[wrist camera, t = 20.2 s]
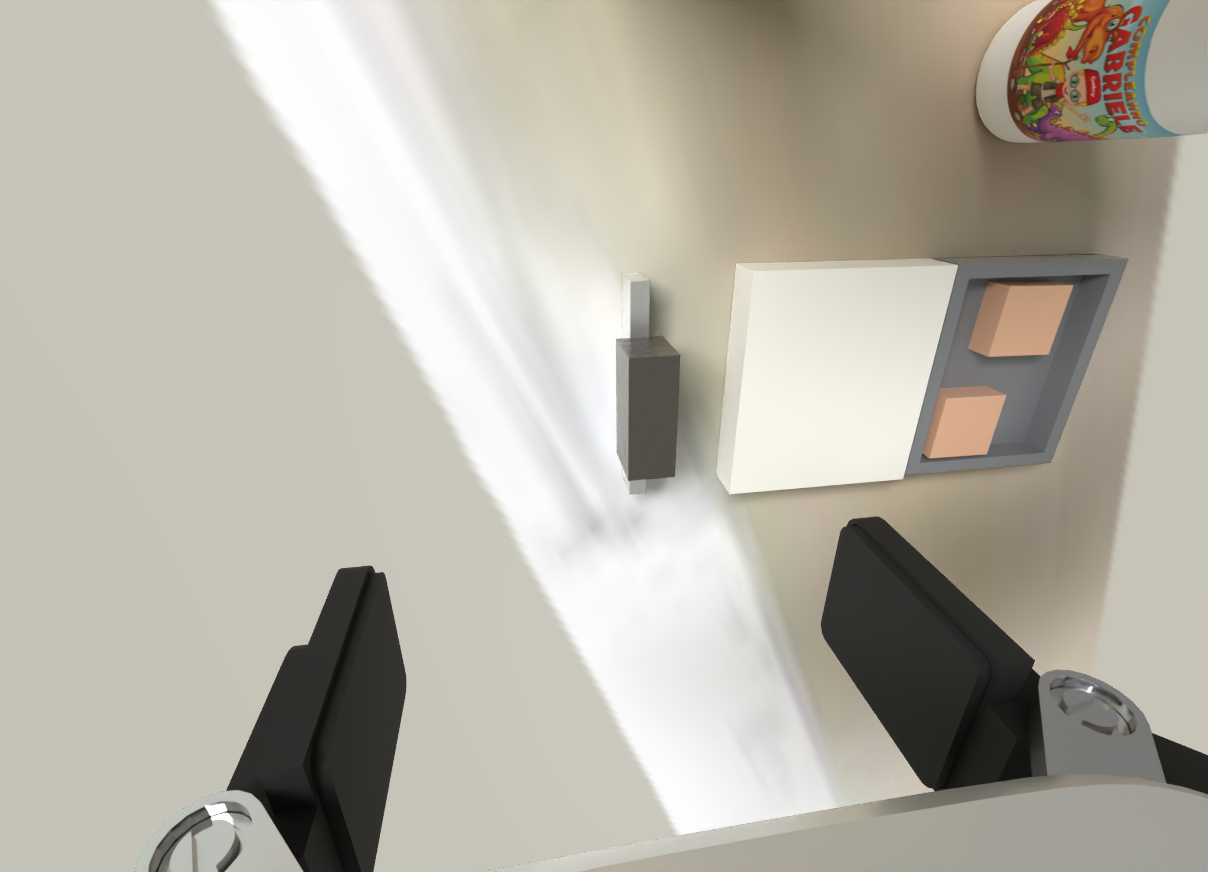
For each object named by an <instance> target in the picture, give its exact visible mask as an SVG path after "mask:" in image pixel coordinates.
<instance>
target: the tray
mask: <svg viewBox="0 0 1208 872" xmlns="http://www.w3.org/2000/svg"><path fill="white" fill-rule="evenodd" d="M934 260H938V261H942V262H947V263H951V264H956V265H958V268H957V272H956V276H955V280H954V284H953V288H952V292H951V295H950V299H949V303H948V307H947V311H946V315H945V319H944V323H943V326H942V330H941V334H940V338H939V342H938V346H937V350H936V354H935V357H934V361H933V365H932V369H931V373H930V377H929V381H928V385H927V388H926V392H925V396H924V400H923V404H922V408H921V412H920V415H919V419H918V423H917V427H916V431H915V435H914V439H913V443H912V446H911V450H910V454H909V458H908V462H907V466H906V470H905V474H904V475H916V474H927V473H939V472H950V471H962V470H974V469H985V468H997V467H1008V466H1020V465H1032V464H1043V463H1051V461H1052V458H1053V456H1054V453H1055V450H1056V448H1057V445H1058V443H1059V440H1060V437H1061V435H1062V432H1063V429H1064V427H1065V424H1066V422H1067V419H1068V416H1069V414H1070V411H1071V408H1072V406H1073V403H1074V401H1075V398H1076V395H1077V393H1078V390H1079V387H1080V385H1081V382H1082V380H1083V377H1084V374H1085V372H1086V369H1087V366H1088V364H1089V361H1090V359H1091V356H1092V353H1093V351H1094V348H1095V345H1096V343H1097V340H1098V338H1099V335H1100V332H1101V330H1102V327H1103V324H1104V322H1105V319H1106V317H1107V314H1108V311H1109V309H1110V306H1111V303H1112V301H1113V298H1114V296H1115V293H1116V290H1117V288H1118V285H1119V282H1120V280H1121V277H1122V275H1123V272H1124V269H1125V267H1126V264H1127V261H1128V259H1126V258H1119V257H1113V256H1106V255H1100V254H1069V255H1032V256H995V257H958V258H934ZM1014 280H1052V281H1056V282H1061V283H1066V284H1070V285H1073V288H1072V291H1071V294H1070V297H1069V299H1068V302H1067V305H1066V308H1065V310H1064V313H1063V316H1062V319H1061V321H1060V324H1059V327H1058V330H1057V333H1056V335H1055V338H1054V341H1053V344H1052V346H1051V349H1050V352H1049V355H1023V356H996V357H987V356H985V355H982V354H980V353H977V352H975V351H972V350H970V349H968V347H969V343H970V340H971V337H972V333H973V330H974V327H975V323H976V320H977V317H978V313H979V310H980V306H981V303H982V300H983V296H984V293H985V290H986V286H987V283H988V281H1014ZM973 386H988V387H990V388H992V389H994V390H997V391H999V392H1001V393H1003V394H1005V395H1006V398H1005V401H1004V404H1003V407H1002V410H1001V413H1000V416H999V419H998V422H997V425H996V428H995V431H994V434H993V437H992V440H991V443H990V446H989V449H988V452H987V454H985V455H971V456H957V457H943V458H928V457H926V456H925V455H924V454H922V452H923V449H924V445H925V441H926V437H927V434H928V430H929V426H930V423H931V419H932V415H933V411H934V408H935V404H936V400H937V397H938V393H939V389H940V388H954V387H973Z"/></svg>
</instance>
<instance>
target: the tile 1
mask: <svg viewBox="0 0 1208 872" xmlns="http://www.w3.org/2000/svg"><path fill="white" fill-rule="evenodd" d="M1005 398H1006V395H1005V394H1003V393H1001V392H999V391H997V390H994V389H992V388H990V387H988V386H973V387H954V388H940V389H939V393H938V397H937V400H936V404H935V408H934V411H933V415H932V419H931V423H930V426H929V430H928V434H927V437H926V441H925V445H924V449H923V452H922V454H924V455H925V456H926V457H928V458H943V457H957V456H971V455H985V454H987V452H988V449H989V446H990V443H991V440H992V437H993V434H994V431H995V428H996V425H997V422H998V419H999V416H1000V413H1001V410H1002V407H1003V404H1004V401H1005Z"/></svg>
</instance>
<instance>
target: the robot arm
mask: <svg viewBox="0 0 1208 872" xmlns="http://www.w3.org/2000/svg"><path fill="white" fill-rule="evenodd" d="M821 629H822V634H823V636H824V638H825V640H826V642H827V643H828V645H829V646H830V648H831V649H832V651H833V652H834V654H835V655H836V657H837V658H838V660H839V661H840V663H841V664H842V666H843V667H844V668H845V670H846V671H847V673H848V674H849V676H850V677H851V679H852V680H853V682H854V683H855V685H856V686H857V688H858V689H859V691H860V692H861V694H862V695H863V697H864V698H865V699H866V701H867V702H868V704H869V705H870V707H871V708H872V710H873V711H874V713H875V714H876V716H877V717H878V719H879V720H880V722H881V723H882V725H883V726H884V727H885V729H886V730H887V732H888V733H889V735H890V736H891V738H892V739H893V741H894V742H895V744H896V745H897V747H898V748H899V750H900V751H901V753H902V754H903V756H904V757H905V758H906V760H907V761H908V763H909V764H910V766H911V767H912V769H913V770H914V772H915V773H916V775H917V776H918V778H919V779H920V780H921V782H922V783H923V784H924V785H925V786H927V787H928V788H933V789H934V791H935V792H929V793H923V794H917V795H911V796H905V797H899V798H893V799H887V800H882V801H876V802H870V803H864V804H858V805H852V806H846V807H840V808H834V809H828V810H822V811H816V812H811V813H805V814H799V815H793V816H788V817H782V818H776V819H770V820H764V821H759V822H753V823H747V824H741V825H736V826H730V827H724V828H719V829H713V830H707V831H702V832H696V833H690V834H684V835H679V836H673V837H668V838H662V839H656V840H651V841H645V842H640V843H634V844H628V845H623V846H618V847H612V848H606V849H601V850H595V851H590V852H584V853H579V854H573V855H568V856H562V857H557V858H551V859H546V860H540V861H534V862H529V863H523V864H518V865H513V866H508V867H503V868H498V869H493V870H488V871H483V872H1208V755H1206V754H1203V753H1201V752H1198V751H1196V750H1193V749H1191V748H1188V747H1186V746H1183V745H1181V744H1178V743H1175V742H1173V741H1171V740H1168V739H1166V738H1163V737H1161V736H1158V735H1156V734H1153V733H1152V732H1151V729H1150V726H1149V724H1148V721H1147V720H1146V718H1145V716H1144V714H1143V713H1142V711H1141V710H1140V709H1139V708H1138V707H1137V706H1136V705H1135V704H1134V703H1133V702H1132V701H1131V700H1130V699H1129V698H1127V697H1126V696H1125V695H1124V694H1122V693H1121V692H1120V691H1118V690H1117V689H1115V688H1113V687H1112V686H1110V685H1108V684H1106V683H1105V682H1103V681H1101V680H1098V679H1096V678H1093V677H1091V676H1089V675H1086V674H1082V673H1078V672H1074V671H1070V670H1053V671H1049V672H1046V673H1045V674H1044V675H1042V676H1041V677H1040V676H1039V675H1038V674H1037V673H1036V672H1035V671H1034V670H1033V669H1032V667H1033V664H1034V662H1035V660H1034V659H1033V658H1032V657H1030V656H1029V655H1028V654H1027V653H1026V652H1025V651H1024V650H1023V649H1022V648H1021V647H1020V646H1019V645H1018V644H1017V643H1015V642H1014V641H1013V640H1012V639H1011V638H1010V637H1009V636H1008V635H1007V634H1006V633H1005V632H1004V631H1003V630H1002V629H1000V628H999V627H998V626H997V625H996V624H995V623H994V622H993V621H992V620H991V619H990V618H989V617H988V616H987V615H985V614H984V613H983V612H982V611H981V610H980V609H979V608H978V607H977V606H976V605H975V604H974V603H973V602H972V601H970V600H969V599H968V598H967V597H966V596H965V595H964V594H963V593H962V592H961V591H960V590H959V589H958V588H957V587H955V586H954V585H953V584H952V583H951V582H950V581H949V580H948V579H947V578H946V577H945V576H944V575H943V574H942V573H940V572H939V571H938V570H937V569H936V568H935V567H934V566H933V565H932V564H931V563H930V562H929V561H928V560H927V559H925V558H924V557H923V556H922V555H921V554H920V553H919V552H918V551H917V550H916V549H915V548H914V547H913V546H912V545H910V544H909V543H908V542H907V541H906V540H905V539H904V538H903V537H902V536H901V535H900V534H899V533H898V532H896V531H895V530H894V529H893V528H892V527H891V526H890V525H889V524H888V523H887V522H886V521H885V520H883V519H882V518H880V517H867V518H857V519H852V520H850V521H849V522H848V524H847V526H846V527H843V528H842V530H841V532H840V536H839V541H838V546H837V550H836V555H835V560H834V564H833V569H832V574H831V578H830V583H829V588H828V592H827V597H826V602H825V606H824V611H823V616H822V620H821ZM405 694H406V673H405V668H404V664H403V658H402V653H401V649H400V644H399V639H398V634H397V629H396V625H395V620H394V615H393V611H392V605H391V601H390V596H389V591H388V586H387V581H386V577H385V574H384V573H383V572H380V573H375V571H374V569H373V567H372V566H362V567H351V568H341V569H339V570H338V572H337V574H336V577H335V579H334V582H333V584H332V586H331V589H330V591H329V594H328V596H327V599H326V602H325V604H324V606H323V609H322V611H321V614H320V616H319V619H318V621H317V624H316V626H315V629H314V631H313V634H312V636H311V638H310V641H309V644H308V645H301V646H293V647H292V648H291V649H290V650H289V651H288V653H287V655H286V657H285V658H284V661H283V663H282V665H281V667H280V670H279V672H278V674H277V677H276V679H275V681H274V684H273V686H272V688H271V690H270V692H269V695H268V697H267V699H266V702H265V704H264V706H263V708H262V711H261V713H260V715H259V717H258V720H257V722H256V724H255V727H254V729H253V731H252V734H251V736H250V738H249V740H248V742H247V745H246V747H245V749H244V752H243V754H242V756H241V758H240V761H239V763H238V765H237V768H236V770H235V772H234V774H233V777H232V779H231V781H230V784H229V786H228V788H227V790H226V791H221V792H218V793H216V794H212V795H209V796H206V797H203V798H201V799H199V800H198V801H196V802H194V803H192V804H190V805H188V806H187V807H185V808H183V809H182V810H181V811H179V812H178V813H177V814H176V815H174V816H173V817H172V818H171V819H169V820H168V821H167V822H166V823H165V824H164V825H163V826H162V827H161V828H160V829H159V830H158V831H157V832H156V834H155V835H154V836H153V837H152V838H151V839H150V840H149V842H148V844H147V845H146V847H145V849H144V850H143V852H142V853H141V855H140V857H139V858H138V861H137V865H136V868H135V871H134V872H373V870H374V865H375V859H376V854H377V848H378V843H379V838H380V832H381V827H382V821H383V816H384V810H385V805H386V799H387V794H388V788H389V782H390V777H391V771H392V766H393V760H394V755H395V750H396V744H397V739H398V733H399V728H400V722H401V717H402V711H403V705H404V700H405Z"/></svg>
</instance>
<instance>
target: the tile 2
mask: <svg viewBox="0 0 1208 872" xmlns="http://www.w3.org/2000/svg"><path fill="white" fill-rule="evenodd" d="M1072 288H1073V285H1070V284H1066V283H1061V282H1056V281H1052V280H1014V281H988V283H987V286H986V290H985V293H984V296H983V300H982V303H981V306H980V310H979V313H978V317H977V320H976V323H975V327H974V330H973V333H972V337H971V340H970V343H969V347H968V349H970V350H972V351H975V352H977V353H980V354H982V355H985V356H987V357H996V356H1023V355H1049V352H1050V349H1051V346H1052V344H1053V341H1054V338H1055V335H1056V333H1057V330H1058V327H1059V324H1060V321H1061V319H1062V316H1063V313H1064V310H1065V308H1066V305H1067V302H1068V299H1069V297H1070V294H1071V291H1072Z"/></svg>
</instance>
